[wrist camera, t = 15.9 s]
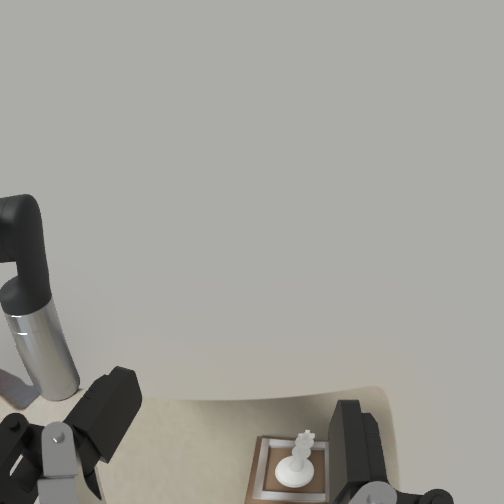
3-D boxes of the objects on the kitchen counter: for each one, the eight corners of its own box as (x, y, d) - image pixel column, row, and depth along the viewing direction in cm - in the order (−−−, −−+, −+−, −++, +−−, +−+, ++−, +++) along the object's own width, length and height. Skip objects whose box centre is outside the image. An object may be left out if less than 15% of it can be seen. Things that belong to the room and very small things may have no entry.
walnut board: (244, 506, 25) (244, 500, 24) (256, 441, 35) (257, 433, 34) (334, 510, 23) (339, 504, 22) (333, 446, 34) (337, 437, 33)
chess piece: (276, 456, 31) (284, 413, 28) (313, 457, 31) (329, 414, 27) (273, 486, 26) (282, 449, 23) (313, 487, 26) (332, 450, 23)
